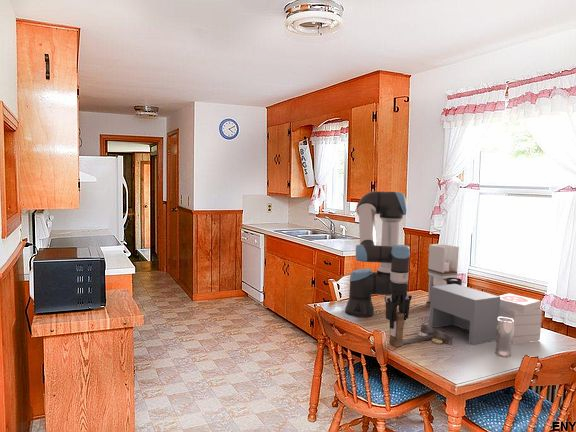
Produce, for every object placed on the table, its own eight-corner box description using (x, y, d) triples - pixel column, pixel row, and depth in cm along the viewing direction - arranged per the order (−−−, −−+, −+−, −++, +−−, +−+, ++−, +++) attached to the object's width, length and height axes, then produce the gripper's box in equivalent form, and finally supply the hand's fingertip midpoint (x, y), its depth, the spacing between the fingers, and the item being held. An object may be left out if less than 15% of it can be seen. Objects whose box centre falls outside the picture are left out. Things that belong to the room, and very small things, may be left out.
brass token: (429, 341, 204) (429, 338, 204) (436, 339, 206) (436, 336, 206) (438, 345, 200) (438, 341, 199) (445, 343, 202) (446, 340, 202)
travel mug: (457, 314, 245) (459, 277, 244) (461, 319, 238) (463, 281, 236) (442, 313, 246) (445, 277, 244) (446, 318, 239) (448, 280, 237)
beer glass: (490, 351, 194) (492, 316, 193) (506, 351, 195) (508, 316, 193) (499, 357, 187) (502, 322, 186) (515, 357, 188) (518, 322, 186)
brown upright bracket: (379, 338, 205) (381, 307, 204) (422, 331, 217) (423, 301, 215) (407, 352, 189) (409, 319, 188) (451, 343, 201) (453, 312, 199)
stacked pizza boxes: (499, 321, 235) (502, 287, 233) (546, 343, 206) (550, 303, 205) (467, 324, 230) (469, 288, 228) (511, 345, 201) (514, 305, 200)
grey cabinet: (429, 326, 224) (431, 286, 222) (452, 322, 231) (455, 283, 229) (472, 344, 201) (475, 300, 199) (497, 339, 208) (500, 296, 206)
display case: (426, 304, 263) (429, 244, 260) (440, 303, 267) (443, 243, 264) (440, 310, 252) (444, 247, 249) (454, 308, 257) (458, 246, 254)
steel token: (415, 335, 212) (415, 331, 212) (422, 333, 214) (423, 330, 214) (423, 338, 207) (423, 335, 207) (431, 337, 210) (431, 333, 210)
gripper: (390, 284, 188) (387, 340, 190) (419, 281, 196) (416, 335, 198) (378, 280, 195) (375, 334, 197) (407, 278, 202) (404, 329, 204)
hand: (396, 334), depth 197 cm, fingers closed on brown upright bracket, 3 cm apart
